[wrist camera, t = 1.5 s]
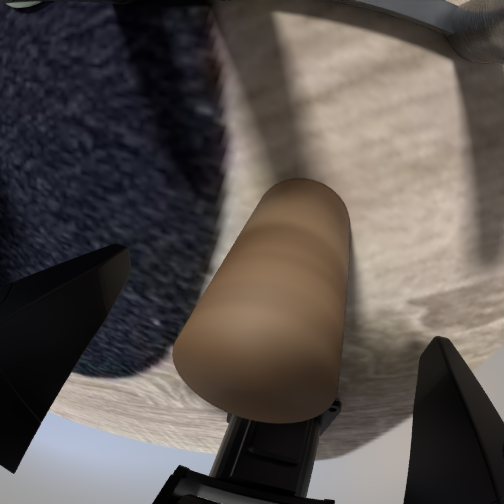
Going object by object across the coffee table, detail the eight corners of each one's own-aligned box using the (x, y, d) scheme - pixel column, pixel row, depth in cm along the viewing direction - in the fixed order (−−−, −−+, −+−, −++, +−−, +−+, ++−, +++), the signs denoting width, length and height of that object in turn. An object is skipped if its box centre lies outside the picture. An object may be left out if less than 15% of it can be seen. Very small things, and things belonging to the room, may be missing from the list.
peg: (334, 272, 13) (308, 434, 7) (250, 249, 13) (175, 394, 8) (361, 194, 11) (365, 355, 5) (264, 167, 11) (169, 297, 6)
